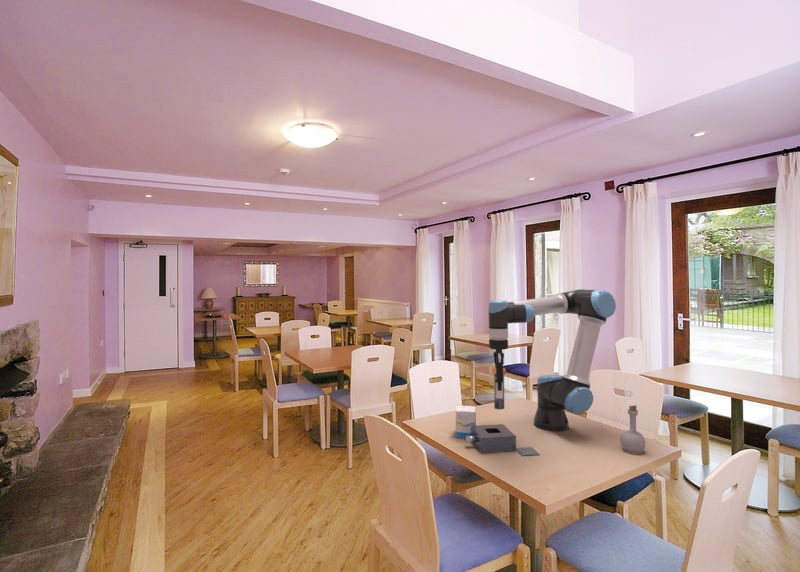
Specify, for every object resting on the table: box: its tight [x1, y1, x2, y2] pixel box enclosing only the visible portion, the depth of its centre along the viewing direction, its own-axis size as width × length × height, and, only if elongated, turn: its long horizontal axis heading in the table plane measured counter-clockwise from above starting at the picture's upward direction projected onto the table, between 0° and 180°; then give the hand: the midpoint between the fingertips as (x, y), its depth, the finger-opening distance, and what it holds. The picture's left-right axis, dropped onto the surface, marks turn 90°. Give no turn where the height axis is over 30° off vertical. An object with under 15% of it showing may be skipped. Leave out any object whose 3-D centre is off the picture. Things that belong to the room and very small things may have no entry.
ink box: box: [455, 405, 477, 439], centre depth 185 cm, size 9×8×12 cm
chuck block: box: [465, 423, 517, 454], centre depth 173 cm, size 18×14×6 cm
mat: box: [516, 446, 541, 457], centre depth 166 cm, size 7×7×1 cm
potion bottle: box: [619, 405, 646, 455], centre depth 167 cm, size 9×9×18 cm
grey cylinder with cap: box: [491, 366, 506, 410], centre depth 172 cm, size 5×5×16 cm
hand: (499, 396), depth 172 cm, fingers closed on grey cylinder with cap, 4 cm apart
